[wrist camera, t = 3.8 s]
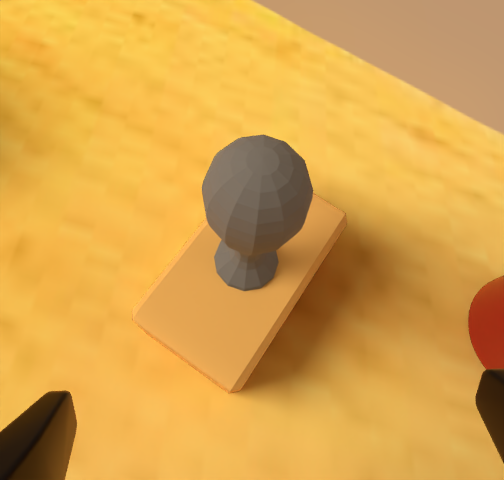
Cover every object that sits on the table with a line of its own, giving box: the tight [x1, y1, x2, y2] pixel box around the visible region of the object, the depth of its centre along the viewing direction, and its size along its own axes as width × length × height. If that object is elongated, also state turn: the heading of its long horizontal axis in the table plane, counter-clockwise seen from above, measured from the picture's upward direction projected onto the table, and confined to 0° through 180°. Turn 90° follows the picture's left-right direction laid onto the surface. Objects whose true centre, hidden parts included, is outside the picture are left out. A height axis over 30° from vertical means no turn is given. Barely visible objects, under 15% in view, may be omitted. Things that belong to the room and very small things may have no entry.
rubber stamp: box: [132, 135, 347, 393], centre depth 16 cm, size 10×6×12 cm, turn 146°
